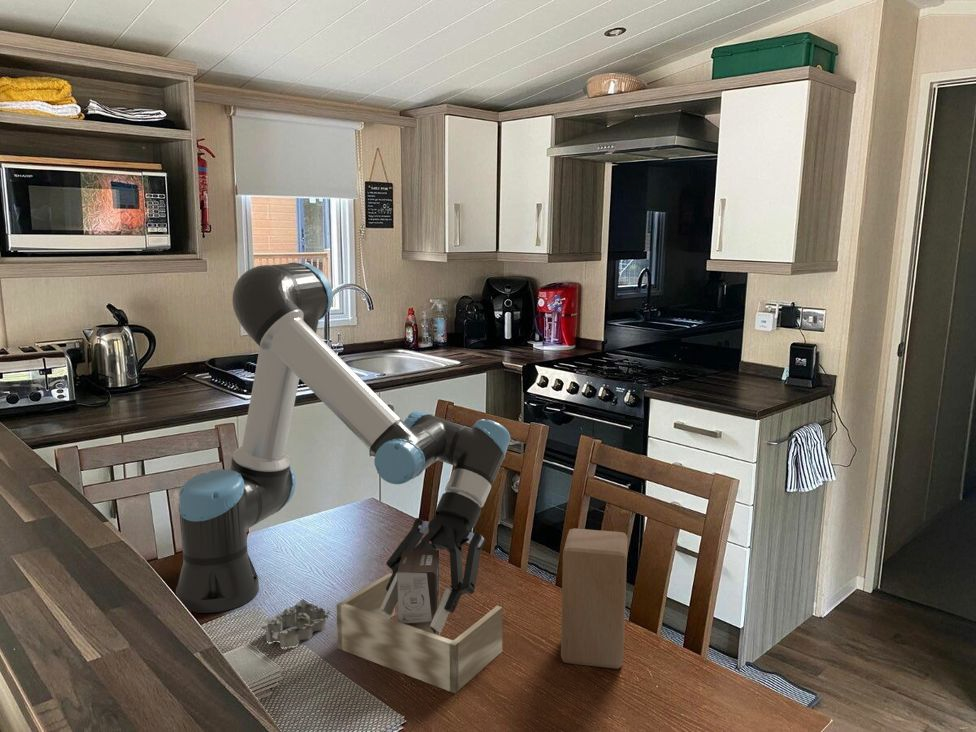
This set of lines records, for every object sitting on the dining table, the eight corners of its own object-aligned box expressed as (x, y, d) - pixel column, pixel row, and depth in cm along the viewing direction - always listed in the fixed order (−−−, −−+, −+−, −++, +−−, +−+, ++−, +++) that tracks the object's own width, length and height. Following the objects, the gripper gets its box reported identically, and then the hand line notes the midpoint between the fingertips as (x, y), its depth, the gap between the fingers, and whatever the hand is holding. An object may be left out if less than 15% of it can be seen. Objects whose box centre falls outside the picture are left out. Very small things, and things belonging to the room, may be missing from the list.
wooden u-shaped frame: (338, 648, 129) (336, 604, 127) (390, 613, 140) (389, 573, 139) (455, 693, 116) (454, 645, 115) (502, 651, 128) (502, 607, 126)
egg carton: (287, 655, 127) (286, 632, 126) (258, 641, 131) (256, 619, 131) (333, 627, 136) (333, 606, 135) (304, 615, 140) (303, 594, 139)
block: (622, 671, 122) (626, 554, 118) (560, 664, 124) (562, 549, 120) (623, 639, 132) (627, 530, 128) (566, 633, 134) (568, 525, 130)
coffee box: (436, 665, 124) (436, 572, 121) (397, 664, 124) (395, 572, 121) (441, 635, 133) (440, 548, 130) (404, 635, 133) (402, 548, 130)
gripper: (524, 522, 132) (475, 647, 122) (421, 498, 144) (368, 611, 133) (509, 502, 127) (456, 631, 116) (403, 479, 138) (347, 595, 128)
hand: (409, 620), depth 125 cm, fingers closed on coffee box, 10 cm apart
